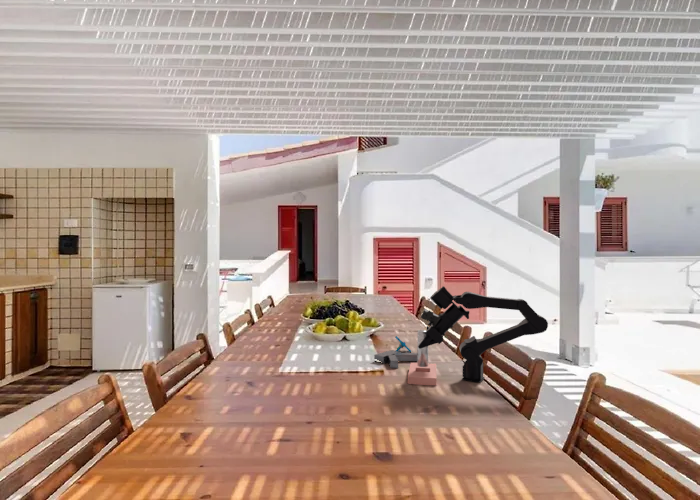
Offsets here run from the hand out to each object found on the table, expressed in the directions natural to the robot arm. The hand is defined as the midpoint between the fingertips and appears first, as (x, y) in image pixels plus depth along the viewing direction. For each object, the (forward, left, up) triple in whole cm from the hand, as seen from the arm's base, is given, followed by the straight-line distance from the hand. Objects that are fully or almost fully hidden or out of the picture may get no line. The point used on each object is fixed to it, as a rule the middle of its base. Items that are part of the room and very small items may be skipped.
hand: (419, 346), depth 168 cm
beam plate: (-1, -1, -11) cm, 11 cm away
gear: (+22, -32, -12) cm, 41 cm away
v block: (+17, -14, -11) cm, 25 cm away
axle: (-1, -1, -7) cm, 7 cm away
